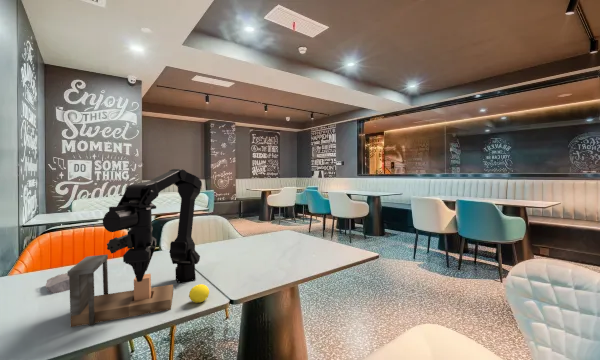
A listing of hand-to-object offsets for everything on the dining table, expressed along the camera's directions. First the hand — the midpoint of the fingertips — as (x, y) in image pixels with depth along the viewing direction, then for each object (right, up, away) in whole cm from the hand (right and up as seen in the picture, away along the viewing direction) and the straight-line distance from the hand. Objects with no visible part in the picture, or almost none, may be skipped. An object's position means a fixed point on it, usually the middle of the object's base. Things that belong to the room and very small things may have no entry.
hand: (142, 276), depth 83 cm
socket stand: (-4, -9, -1) cm, 10 cm away
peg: (0, -9, 0) cm, 9 cm away
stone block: (-38, -10, +16) cm, 42 cm away
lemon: (+16, -9, +3) cm, 19 cm away
